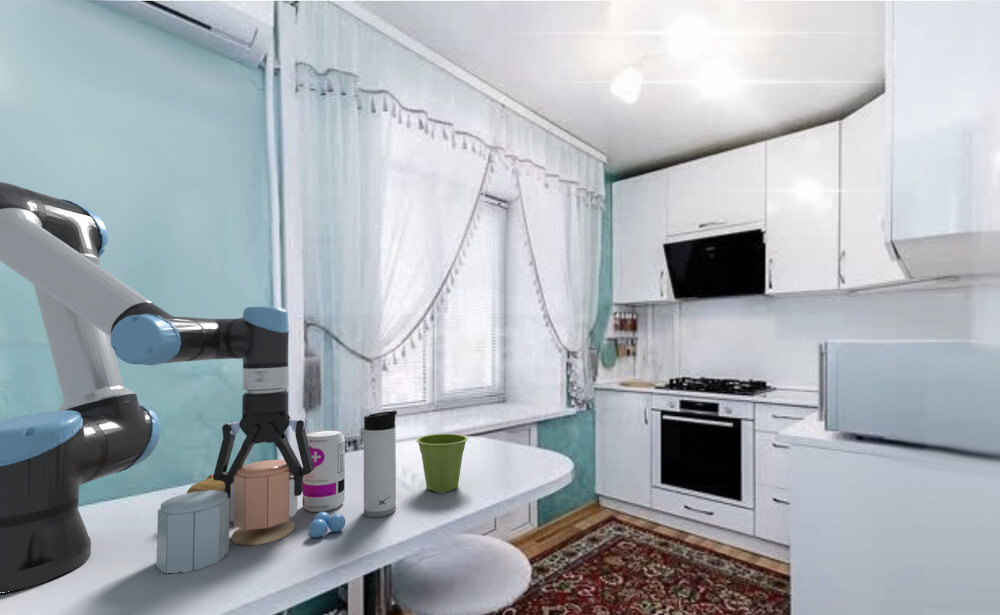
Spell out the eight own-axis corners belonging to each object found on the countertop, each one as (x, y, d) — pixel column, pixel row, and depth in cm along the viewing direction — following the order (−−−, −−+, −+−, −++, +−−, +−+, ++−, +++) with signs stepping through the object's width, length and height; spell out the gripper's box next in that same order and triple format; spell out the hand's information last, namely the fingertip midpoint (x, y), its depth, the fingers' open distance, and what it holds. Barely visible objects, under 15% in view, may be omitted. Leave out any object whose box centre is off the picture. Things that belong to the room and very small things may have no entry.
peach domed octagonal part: (227, 531, 78) (228, 475, 79) (246, 511, 87) (247, 461, 87) (283, 526, 80) (284, 471, 80) (297, 507, 88) (297, 458, 89)
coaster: (222, 548, 77) (222, 544, 77) (244, 524, 87) (244, 521, 87) (285, 542, 79) (285, 539, 79) (300, 520, 89) (300, 516, 89)
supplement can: (319, 516, 91) (320, 439, 92) (294, 508, 95) (294, 434, 96) (352, 503, 98) (353, 431, 98) (327, 496, 102) (327, 427, 103)
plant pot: (477, 489, 105) (477, 439, 106) (430, 500, 98) (430, 447, 99) (453, 476, 115) (452, 431, 115) (408, 486, 108) (408, 437, 109)
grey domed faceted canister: (146, 576, 69) (147, 512, 69) (177, 548, 77) (178, 492, 78) (212, 569, 70) (213, 507, 71) (235, 543, 79) (236, 488, 80)
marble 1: (311, 533, 83) (311, 516, 83) (315, 526, 86) (315, 510, 86) (329, 531, 83) (329, 514, 83) (332, 525, 86) (332, 508, 86)
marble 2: (307, 541, 80) (307, 523, 80) (311, 533, 82) (311, 516, 83) (325, 539, 80) (325, 521, 80) (328, 532, 83) (328, 515, 83)
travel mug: (389, 518, 89) (388, 413, 90) (357, 516, 90) (357, 413, 91) (402, 506, 95) (402, 408, 96) (372, 505, 96) (372, 408, 97)
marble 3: (326, 535, 82) (326, 518, 82) (329, 528, 85) (329, 512, 85) (344, 534, 82) (344, 516, 82) (346, 527, 85) (346, 510, 85)
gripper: (190, 395, 79) (188, 530, 78) (323, 390, 83) (323, 518, 81) (210, 390, 86) (208, 513, 85) (331, 386, 90) (331, 503, 89)
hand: (264, 516), depth 83 cm, fingers closed on peach domed octagonal part, 9 cm apart
